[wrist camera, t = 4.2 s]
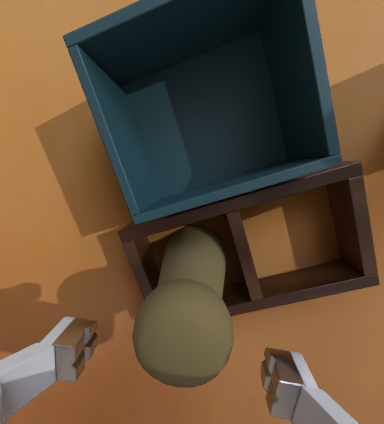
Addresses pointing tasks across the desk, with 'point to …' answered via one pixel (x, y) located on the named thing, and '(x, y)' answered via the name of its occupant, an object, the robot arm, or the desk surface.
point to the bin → (207, 98)
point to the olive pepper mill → (186, 312)
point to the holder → (252, 287)
